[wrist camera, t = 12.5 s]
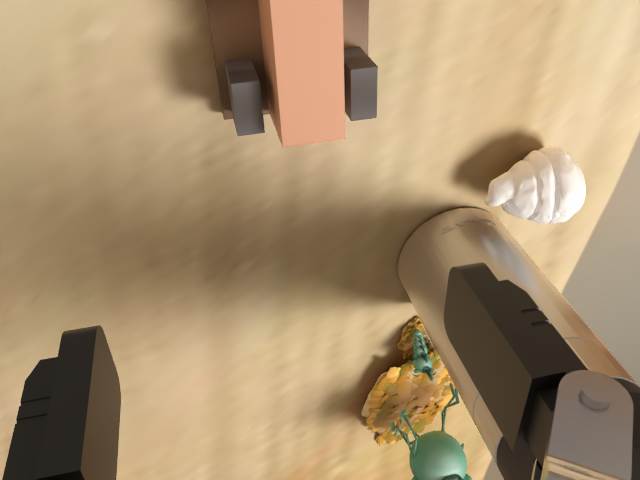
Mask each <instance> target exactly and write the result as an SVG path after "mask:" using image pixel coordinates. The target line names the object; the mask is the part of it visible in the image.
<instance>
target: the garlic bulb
mask: <svg viewBox="0 0 640 480" xmlns="http://www.w3.org/2000/svg"><path fill="white" fill-rule="evenodd" d="M585 193H586V187H585V180H584V176H583V173H582V170H581V168H580V166H579V165H578V163H577V162H576V161H575V159H574V158H573V157H572V156H571V155H570V154H568V153H567V152H565V151H564V150H563V149H561V148H558V147H544V148H541V149H539V150H537V151H536V150H534V151H531V152H530V153H529V154H528V155H527V156H526V157H525V158H524V159H523V160H521V161H519V162H517V163H516V164H514V165H513V166H512V167H511V168H510V169H509V171H508V172H506V173H504V174H502V175H500V176H499V177H497V178H495V179H493V180H492V181H491V182H490V184H489V188H488V195H487V196H486V198H485V203H486V204H487V205H489V206H498V205H501V206H502V208H503V210H504V211H505V212H507V213H508V214H511V215H513V216H516V217H518V218H521V219H528V220H531V221H535V222H538V223H550V224H553V223H558V222H560V223H562V222H565V221H567V220H568V219H569V218H570V217H571V216H572V215H573V214H574V213H576V212H577V211H578V210H579V209H580V208H581V207H582V205H583V203H584V200H585V195H586V194H585Z"/></svg>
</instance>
